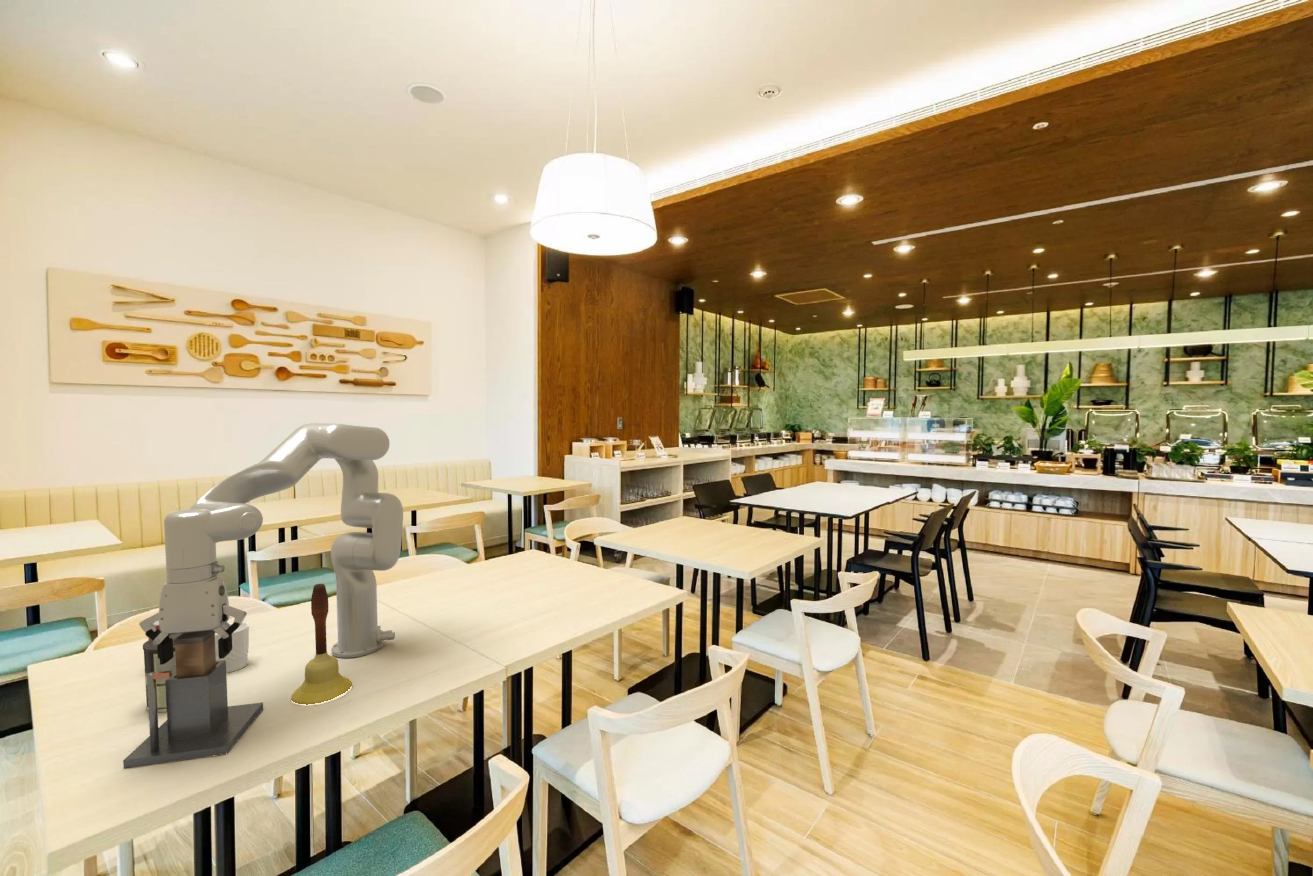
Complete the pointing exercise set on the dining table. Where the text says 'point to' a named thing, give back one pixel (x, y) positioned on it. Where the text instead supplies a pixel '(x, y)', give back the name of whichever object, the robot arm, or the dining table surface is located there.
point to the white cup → (236, 648)
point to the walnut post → (195, 653)
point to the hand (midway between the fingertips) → (196, 658)
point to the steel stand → (192, 719)
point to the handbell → (321, 660)
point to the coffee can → (158, 670)
